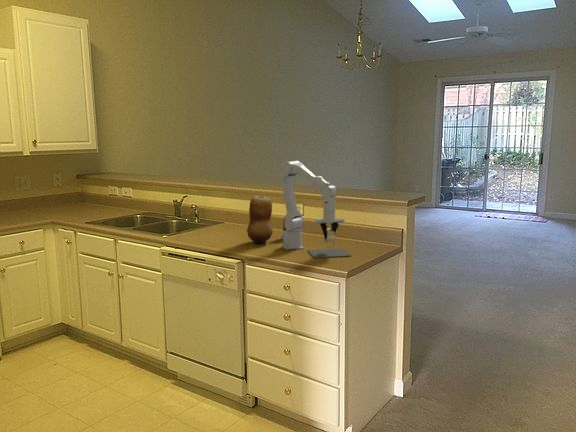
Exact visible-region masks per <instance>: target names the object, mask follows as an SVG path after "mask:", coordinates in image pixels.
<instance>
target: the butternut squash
mask: <svg viewBox="0 0 576 432" xmlns="http://www.w3.org/2000/svg"><path fill="white" fill-rule="evenodd" d="M249 201H250V202H249V207H248V209H249V211H248V213H249V214H248V215H249V223H248V226H247V230H246V232H247V236H248V238H249V239H250V240H251V241H252V242H253V243H255V244H263V243H266V242H267V241H268V240H270V239H271V237H272V235H273V231H274V230H273V226H272V223H271V217H272V213H273V202H272V198H270V197H268V196H264V195H263V196H262V195H256V196H253V197H251V199H250V200H249Z"/></svg>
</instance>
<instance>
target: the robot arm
mask: <svg viewBox="0 0 576 432" xmlns="http://www.w3.org/2000/svg"><path fill="white" fill-rule="evenodd" d="M279 168H280V177H279V179H280V183H281V184H280V185H281V188H282V193H283V198H284V199H283V200H284V204H285V208H286V213H285V215H284V216H283V220H284V219H285V222H284V221H283V222H284V226H285V228H286V230H287V231H282V236H283V239H282V247H283V248H284V250H298V249H299V250H300V249H301V250H302V249H304V247H303V245H302V239H303V238H302V235H303V234H302V231H303V227H305V219H304V218H303V215H302V212H300V211H299V210H298V206H297V205H298V204H297V199H296V194H295V189H294V185H293V179H294V178H295V176H297V175H298V174H299V175H301V176H302V177H303V178H305V179H306V180H308V181H309V182H310V184H311V186H312V187H313V188H314V189H315V190H317V191H318V192H319V193H320V195H321V197H322V201H323V205H322V206H323V207H322V213H323V214H322V215H323V216H322V218H321V219H313V224H314V225H315V226H316V225H319V226H320V227H321V230H322V233H323V239H324V238H325V239H327V228H328V225H327V224H329V225H330V226H331V228H330V229H331V230H333V231H334V232H335V233H336V232H337V229H338V228H339V225H340V224H345V218H336V196H338V193H339V190H338V187H337V186H336V185H335V184H330V182H329V181H328V182H327V181H326V180H325V179H324V178H323V176H320V175H315V174H314V173H312V172H311V171H310V170H309V169H308V168H307V167H306V166H305V165H304V163H302V162H301V161H300V160H297V159H296V160H290V161H288V160H287V161H283V162H282V163H281V165H280V167H279Z"/></svg>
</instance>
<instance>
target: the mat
mask: <svg viewBox="0 0 576 432" xmlns="http://www.w3.org/2000/svg"><path fill="white" fill-rule="evenodd" d="M307 252H308V253H309V255H310V256H311V257H312V258H313V259H326V258H328V259H329V258H331V259H332V257H333V258H346V257H347V258H351V257H352V255H351V253H349V252H348V251H347V250H346V249H344V248H342V247H341V248H321V249H318V248H317V249H308V250H307Z"/></svg>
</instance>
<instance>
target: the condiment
mask: <svg viewBox="0 0 576 432" xmlns="http://www.w3.org/2000/svg"><path fill="white" fill-rule="evenodd" d="M284 222H285V219H284V218H283V223H282V224H283V226H282V227H283V228H282V230H283V231H287V230H286V228H285V226H284ZM283 231H282V232H283ZM278 240H283V235H280V237H279V238H278Z"/></svg>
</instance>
